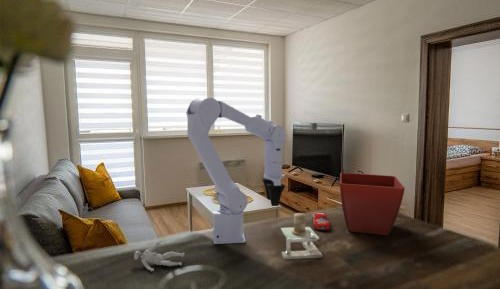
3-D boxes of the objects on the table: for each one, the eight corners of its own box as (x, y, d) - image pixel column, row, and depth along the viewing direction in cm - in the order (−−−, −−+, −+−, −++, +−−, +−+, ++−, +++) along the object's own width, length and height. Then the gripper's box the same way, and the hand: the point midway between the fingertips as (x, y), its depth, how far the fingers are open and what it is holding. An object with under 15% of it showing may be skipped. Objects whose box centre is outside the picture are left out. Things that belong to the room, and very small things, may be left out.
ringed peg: (293, 236, 99) (294, 217, 99) (289, 230, 104) (290, 212, 104) (309, 235, 100) (309, 217, 99) (304, 229, 105) (305, 212, 104)
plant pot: (402, 241, 97) (405, 187, 95) (337, 234, 102) (339, 183, 101) (393, 221, 115) (395, 175, 114) (338, 216, 121) (340, 172, 119)
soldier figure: (178, 276, 77) (129, 264, 75) (175, 282, 81) (128, 270, 79) (186, 246, 82) (140, 234, 80) (183, 252, 86) (139, 241, 84)
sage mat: (287, 240, 97) (287, 239, 97) (280, 228, 106) (280, 227, 106) (319, 239, 98) (319, 238, 98) (309, 227, 108) (309, 226, 108)
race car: (330, 233, 104) (331, 221, 104) (313, 232, 105) (314, 220, 105) (326, 219, 117) (327, 209, 117) (312, 218, 118) (312, 208, 118)
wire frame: (284, 259, 84) (284, 241, 84) (277, 245, 93) (277, 229, 93) (322, 257, 86) (322, 239, 85) (311, 243, 94) (312, 227, 94)
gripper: (290, 165, 97) (289, 208, 98) (280, 158, 111) (279, 196, 112) (268, 165, 96) (267, 209, 97) (260, 158, 110) (260, 196, 111)
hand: (272, 202), depth 105 cm, fingers open, 7 cm apart
